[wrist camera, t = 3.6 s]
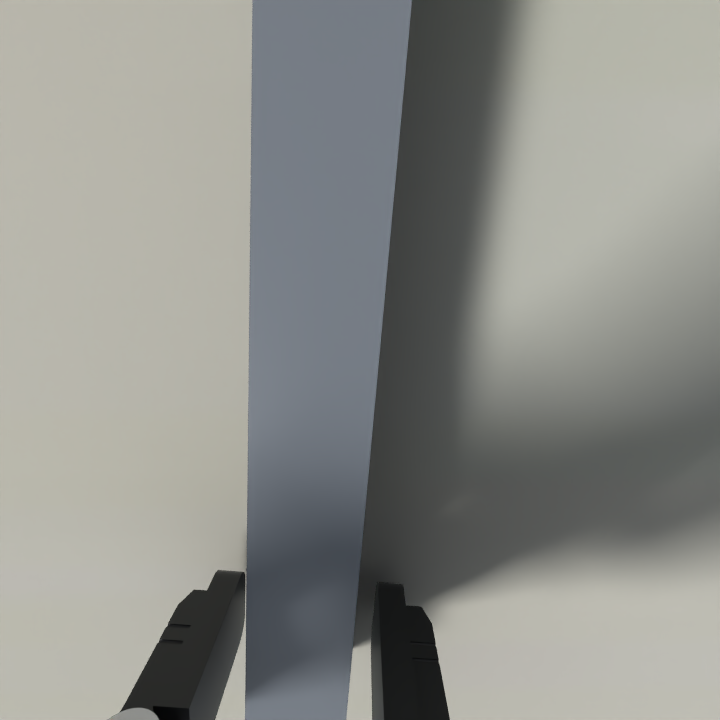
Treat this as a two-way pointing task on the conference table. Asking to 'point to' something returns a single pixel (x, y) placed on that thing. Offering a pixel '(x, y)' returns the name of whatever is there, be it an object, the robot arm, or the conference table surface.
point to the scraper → (315, 332)
